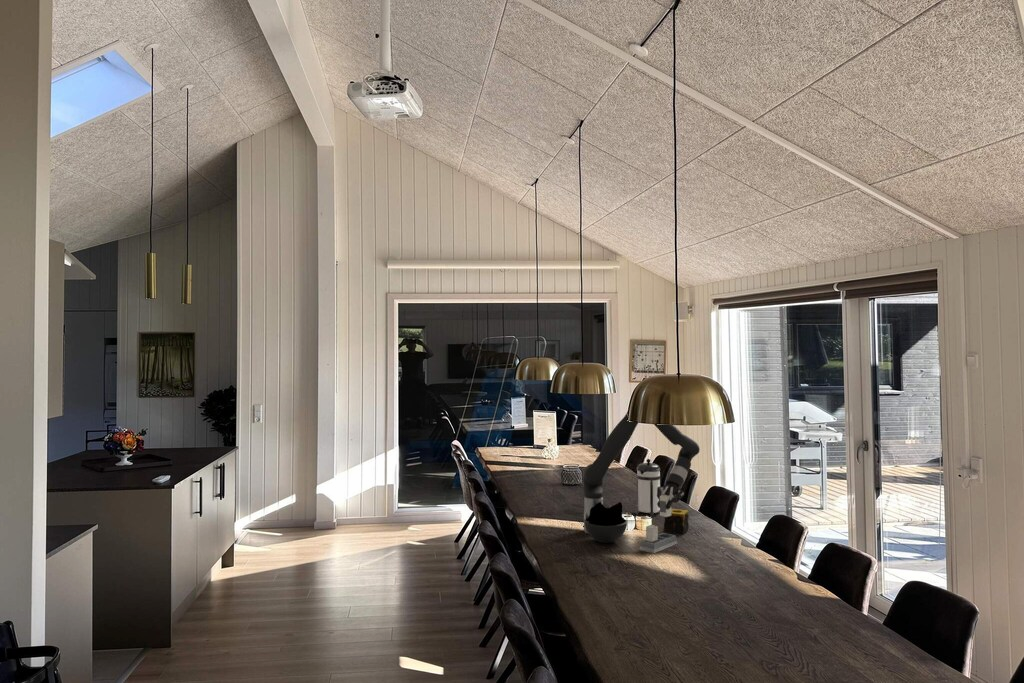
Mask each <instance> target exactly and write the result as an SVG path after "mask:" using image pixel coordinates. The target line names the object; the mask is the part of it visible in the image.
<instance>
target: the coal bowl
mask: <svg viewBox="0 0 1024 683" xmlns="http://www.w3.org/2000/svg"><path fill="white" fill-rule="evenodd" d="M584 524H585V528H586V530H587V532H588V533H587V534H588V535H589V536H590V538H593V540H595V541H596V542H599V543H603V544H604V543H605V544H609V543H613V542H615V541H617V540H619V539H620V538H622V536H623V535H624V533H625V532H626V529H627V526H628V521H627V519H625V518H623V504H622V502H621V501H619V502H617V503H615V504H613V505H612V506H610V507H606V506H604V503H603V504H602V503H601V502H599V503H597V504H595V506H594V507H592V508H591V509H590V515H589V517H588V518H586V519H585V520H584V519H583V525H584Z"/></svg>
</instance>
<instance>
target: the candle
mask: <svg viewBox="0 0 1024 683" xmlns="http://www.w3.org/2000/svg"><path fill="white" fill-rule="evenodd" d="M689 514H690V513H689V510H687V509H680V508H679V509H676V508H671V516H668V517H664V516H663V517H664V521H663V533H666V534H675V533H676V534H677V535H685V534H686V533H687V532H688V531H689V524H690V523H689V516H690V515H689ZM676 534H675V535H676Z"/></svg>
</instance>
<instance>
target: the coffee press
mask: <svg viewBox="0 0 1024 683" xmlns="http://www.w3.org/2000/svg"><path fill="white" fill-rule="evenodd" d="M636 471H637V472H636V473H637V475H636V478H637V480H636V482H637V483H636V484H637V485H636V486H637V488H636V491H637V494H636V496H637V497H636V498H637V502H636V504H637V505H636V506H637V508H636V509H635V511H634V512H635V514H636V515H638V514H639V513H646V514H650V517H651V516H652V517H654V513H659V514H660V508H659V507H658V505H657V503H658V501H659V499H658V497H657V487H660V488H661V487H662V476H661V472H660V471H661V468H660V465H658V464H657V463H654V462H651V459H650V458H647V459H646V462H641V463H639V464H638V465H637V467H636Z"/></svg>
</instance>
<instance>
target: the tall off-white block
mask: <svg viewBox="0 0 1024 683" xmlns="http://www.w3.org/2000/svg"><path fill="white" fill-rule="evenodd" d="M669 498H670V496H669V495H662V496H660V510H659V512H660V513H659V516H661V517H668V516H671V509H672V506H671V507H670V509H666V507H665V506H666V504H667V502H668V500H669Z"/></svg>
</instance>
